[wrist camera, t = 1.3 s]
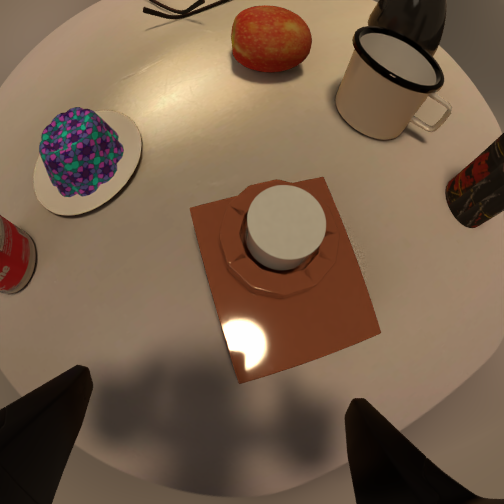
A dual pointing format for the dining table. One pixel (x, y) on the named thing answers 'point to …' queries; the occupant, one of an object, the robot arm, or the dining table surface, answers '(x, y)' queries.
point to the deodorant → (479, 187)
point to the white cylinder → (284, 227)
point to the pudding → (85, 159)
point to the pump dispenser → (412, 20)
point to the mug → (388, 83)
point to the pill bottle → (15, 257)
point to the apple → (270, 39)
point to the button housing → (282, 289)
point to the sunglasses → (183, 12)
